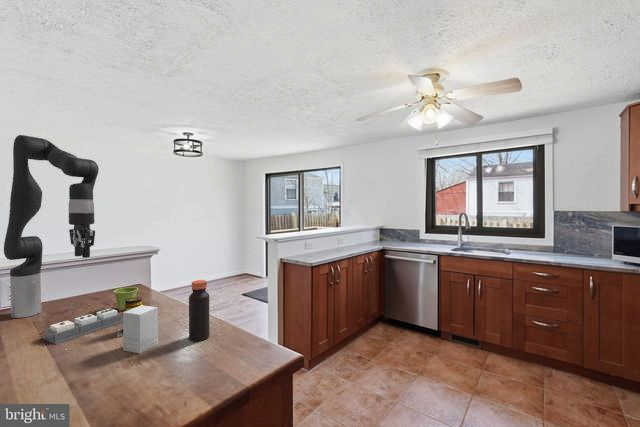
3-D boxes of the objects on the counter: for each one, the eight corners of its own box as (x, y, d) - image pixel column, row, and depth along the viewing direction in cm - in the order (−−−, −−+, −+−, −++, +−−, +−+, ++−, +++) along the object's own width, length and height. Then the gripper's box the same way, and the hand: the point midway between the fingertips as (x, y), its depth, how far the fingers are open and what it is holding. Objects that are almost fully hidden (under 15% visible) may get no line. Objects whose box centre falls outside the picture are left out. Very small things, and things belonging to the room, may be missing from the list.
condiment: (144, 331, 110) (144, 299, 109) (117, 337, 105) (116, 303, 105) (143, 325, 116) (143, 294, 115) (117, 330, 111) (117, 298, 111)
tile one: (50, 333, 104) (50, 324, 104) (67, 328, 108) (67, 319, 108) (57, 336, 102) (56, 326, 101) (74, 330, 106) (74, 321, 106)
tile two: (74, 325, 110) (74, 317, 110) (90, 321, 115) (90, 313, 115) (81, 328, 108) (81, 319, 108) (97, 323, 112) (97, 315, 112)
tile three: (96, 319, 117) (96, 311, 117) (110, 315, 121) (110, 307, 121) (103, 321, 114) (103, 313, 114) (117, 317, 119) (117, 309, 119)
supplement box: (159, 344, 100) (159, 307, 100) (139, 354, 93) (139, 314, 93) (142, 340, 102) (142, 304, 102) (122, 350, 95) (122, 311, 95)
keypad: (42, 338, 104) (42, 329, 104) (110, 317, 123) (110, 310, 123) (55, 344, 99) (55, 335, 99) (124, 321, 119) (124, 314, 119)
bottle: (213, 335, 107) (213, 280, 106) (198, 343, 101) (198, 285, 100) (199, 332, 110) (199, 278, 109) (184, 339, 104) (184, 282, 103)
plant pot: (133, 304, 140) (132, 285, 140) (142, 308, 135) (142, 289, 135) (110, 309, 133) (109, 290, 133) (118, 314, 127) (118, 294, 127)
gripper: (60, 211, 111) (60, 256, 112) (79, 212, 105) (80, 260, 105) (83, 211, 118) (84, 254, 118) (103, 211, 111) (103, 256, 112)
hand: (82, 256), depth 112 cm, fingers open, 5 cm apart
